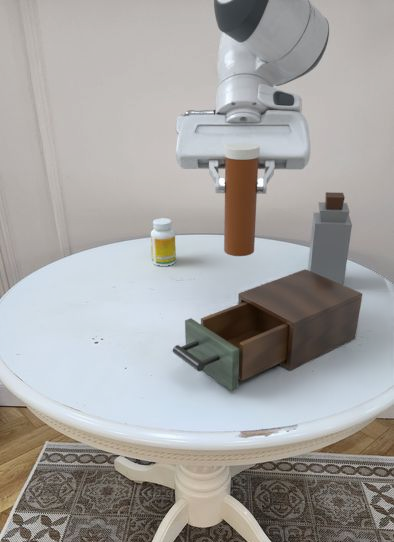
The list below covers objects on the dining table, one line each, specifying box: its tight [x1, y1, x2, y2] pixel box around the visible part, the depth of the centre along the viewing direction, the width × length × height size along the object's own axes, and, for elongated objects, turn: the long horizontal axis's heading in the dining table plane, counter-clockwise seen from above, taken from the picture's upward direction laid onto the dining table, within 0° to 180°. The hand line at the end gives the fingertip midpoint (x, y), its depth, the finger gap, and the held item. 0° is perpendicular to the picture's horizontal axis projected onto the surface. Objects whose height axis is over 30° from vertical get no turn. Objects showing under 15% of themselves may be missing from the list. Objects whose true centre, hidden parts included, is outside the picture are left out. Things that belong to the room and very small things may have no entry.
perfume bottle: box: [307, 191, 353, 286], centre depth 105 cm, size 7×7×18 cm
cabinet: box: [237, 268, 363, 372], centre depth 89 cm, size 16×13×9 cm
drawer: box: [172, 302, 290, 392], centre depth 82 cm, size 19×11×7 cm, turn 127°
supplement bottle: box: [150, 217, 177, 267], centre depth 118 cm, size 5×5×10 cm
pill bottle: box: [223, 142, 260, 257], centre depth 81 cm, size 5×5×16 cm
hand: (241, 191), depth 80 cm, fingers closed on pill bottle, 5 cm apart
